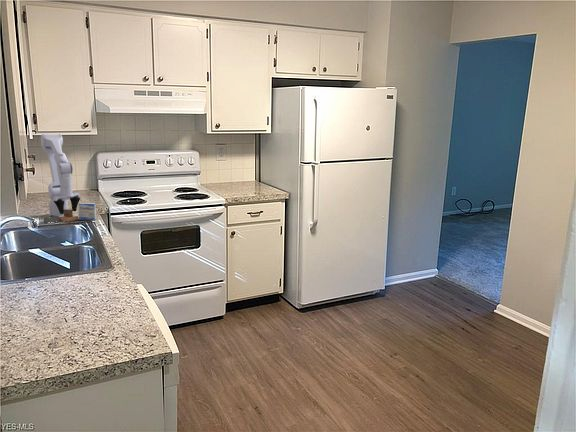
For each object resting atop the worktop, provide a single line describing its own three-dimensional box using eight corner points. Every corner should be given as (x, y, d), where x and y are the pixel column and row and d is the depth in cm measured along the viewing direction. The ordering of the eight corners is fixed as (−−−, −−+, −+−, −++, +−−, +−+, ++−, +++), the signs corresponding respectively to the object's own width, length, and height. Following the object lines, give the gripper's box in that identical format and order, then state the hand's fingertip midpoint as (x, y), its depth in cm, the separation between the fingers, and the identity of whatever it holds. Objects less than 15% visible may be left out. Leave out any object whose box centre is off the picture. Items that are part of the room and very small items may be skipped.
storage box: (43, 222, 231) (43, 216, 230) (52, 220, 235) (52, 214, 235) (50, 223, 229) (50, 217, 228) (59, 221, 233) (58, 215, 233)
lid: (67, 221, 232) (67, 211, 231) (59, 220, 235) (58, 210, 234) (78, 219, 238) (77, 209, 237) (69, 217, 241) (68, 208, 240)
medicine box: (78, 220, 236) (78, 203, 234) (80, 218, 240) (79, 202, 238) (94, 220, 238) (94, 204, 236) (96, 218, 242) (95, 202, 240)
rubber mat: (57, 220, 235) (57, 220, 235) (69, 218, 241) (69, 217, 241) (67, 222, 232) (67, 221, 232) (80, 219, 238) (80, 219, 238)
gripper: (59, 188, 225) (61, 215, 228) (83, 185, 238) (85, 210, 240) (49, 187, 228) (51, 214, 231) (73, 184, 240) (75, 209, 243)
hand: (68, 212), depth 236 cm, fingers open, 7 cm apart
